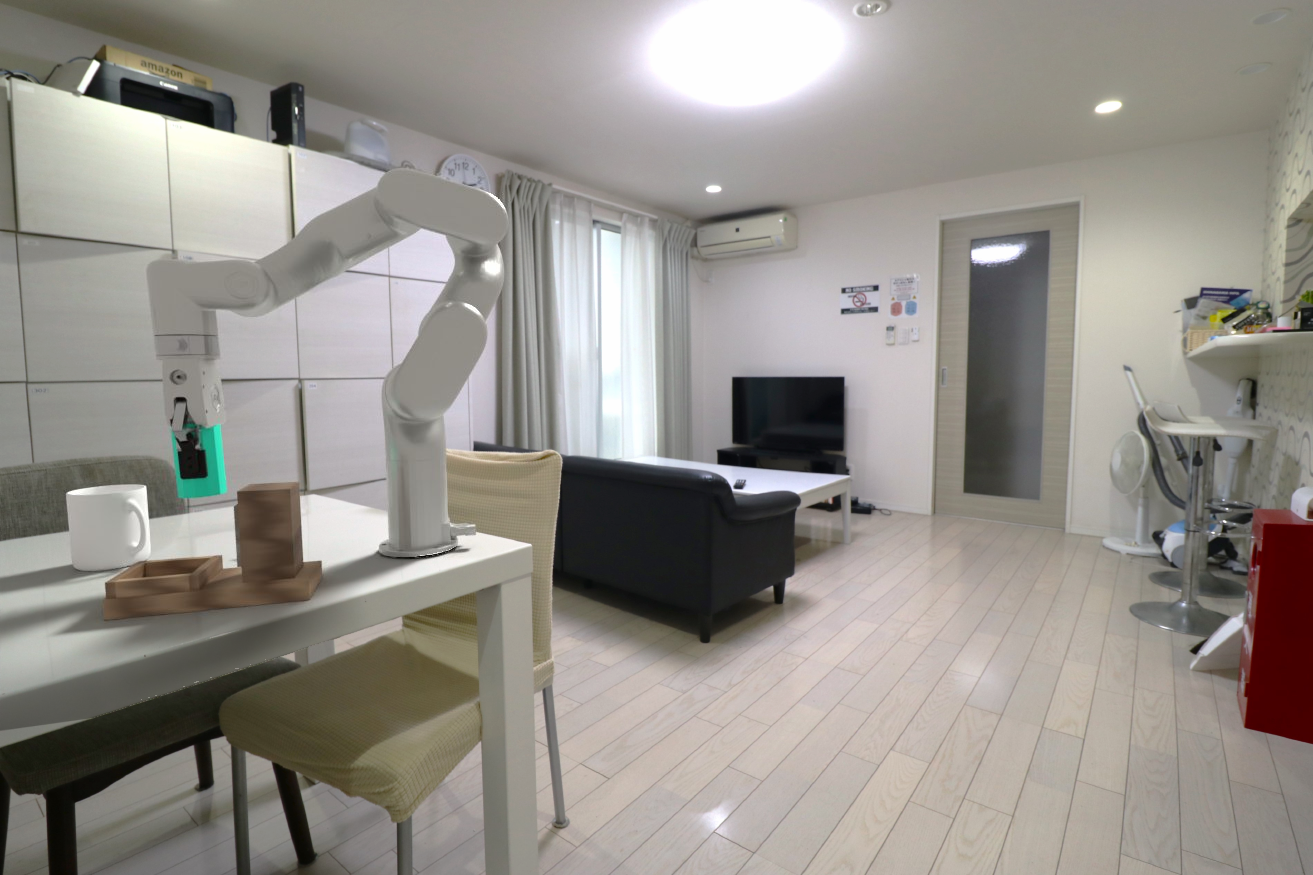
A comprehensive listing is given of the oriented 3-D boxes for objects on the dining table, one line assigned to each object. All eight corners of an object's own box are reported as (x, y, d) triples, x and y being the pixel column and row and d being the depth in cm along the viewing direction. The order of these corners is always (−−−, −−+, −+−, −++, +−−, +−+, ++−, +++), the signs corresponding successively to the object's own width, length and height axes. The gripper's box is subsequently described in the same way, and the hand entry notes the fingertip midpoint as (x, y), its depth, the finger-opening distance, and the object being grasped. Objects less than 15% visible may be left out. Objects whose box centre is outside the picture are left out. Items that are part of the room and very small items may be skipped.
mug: (110, 554, 105) (105, 484, 104) (181, 555, 105) (176, 484, 103) (54, 571, 96) (47, 494, 94) (132, 572, 95) (126, 495, 94)
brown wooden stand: (322, 577, 93) (317, 478, 92) (309, 599, 84) (304, 490, 82) (140, 593, 86) (132, 487, 85) (104, 620, 77) (94, 501, 75)
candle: (202, 498, 90) (192, 413, 89) (167, 497, 91) (157, 414, 90) (237, 490, 96) (229, 410, 95) (204, 489, 97) (195, 411, 96)
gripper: (198, 346, 84) (212, 482, 86) (235, 351, 100) (247, 465, 102) (129, 347, 82) (145, 487, 84) (179, 351, 98) (192, 469, 100)
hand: (201, 474), depth 93 cm, fingers closed on candle, 4 cm apart
